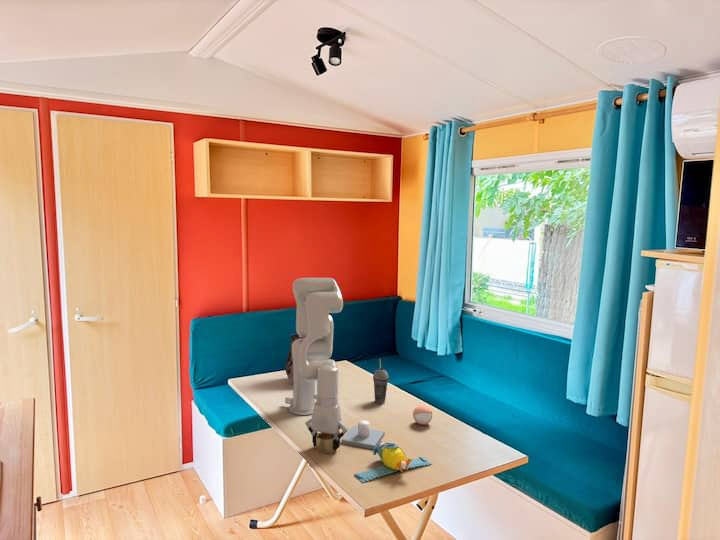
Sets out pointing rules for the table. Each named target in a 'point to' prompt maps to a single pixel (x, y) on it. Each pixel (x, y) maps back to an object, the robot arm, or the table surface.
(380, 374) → the beverage cup
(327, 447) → the ring
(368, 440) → the block
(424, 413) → the toy ball
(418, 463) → the toy parrot figure
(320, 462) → the table surface
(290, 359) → the ceramic pitcher
